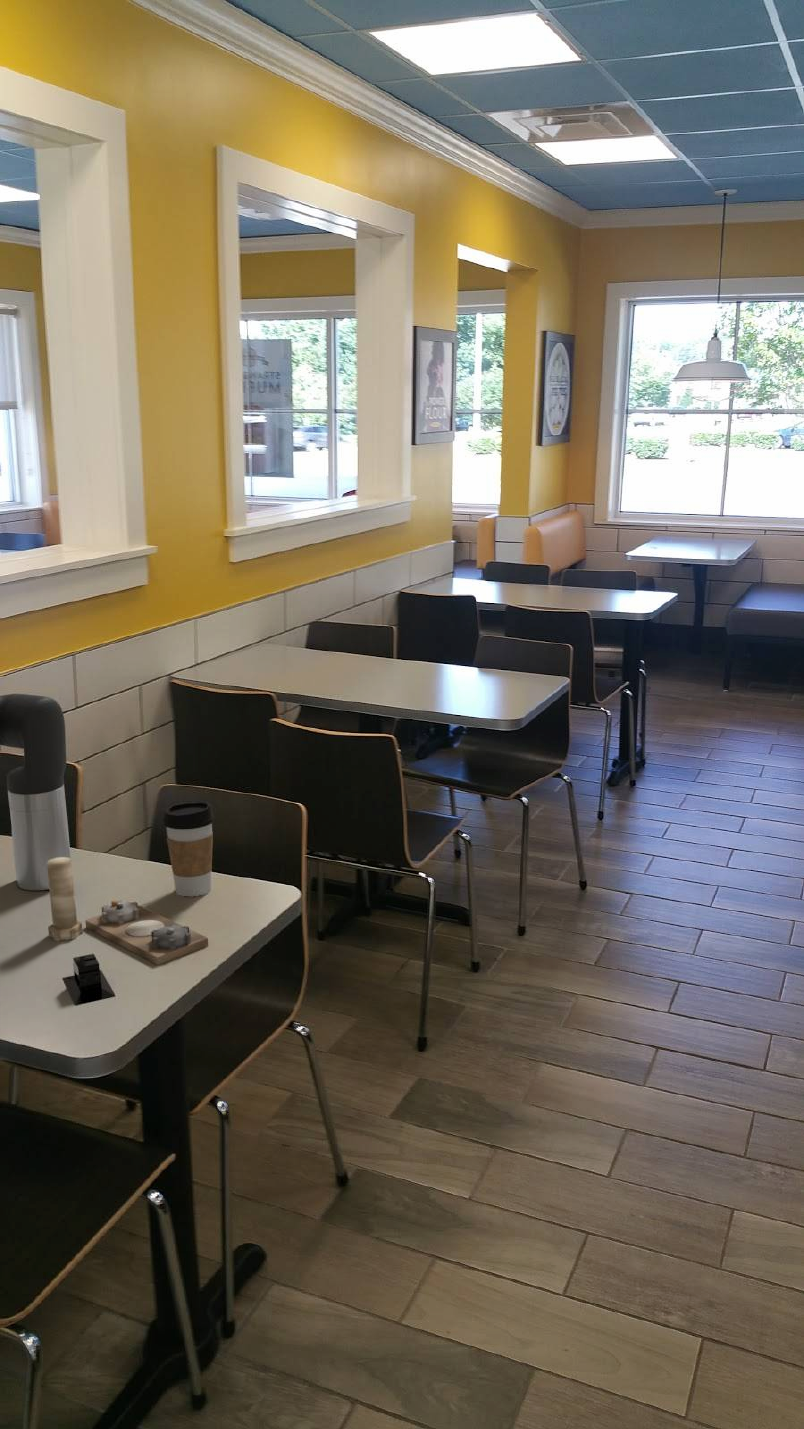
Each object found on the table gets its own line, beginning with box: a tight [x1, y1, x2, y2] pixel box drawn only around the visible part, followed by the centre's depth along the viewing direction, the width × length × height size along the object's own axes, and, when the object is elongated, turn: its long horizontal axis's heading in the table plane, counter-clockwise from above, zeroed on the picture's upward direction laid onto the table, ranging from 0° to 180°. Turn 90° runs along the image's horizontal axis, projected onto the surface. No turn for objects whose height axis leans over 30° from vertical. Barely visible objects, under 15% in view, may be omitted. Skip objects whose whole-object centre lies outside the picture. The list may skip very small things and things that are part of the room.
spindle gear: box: [47, 857, 83, 942], centre depth 177 cm, size 5×5×12 cm
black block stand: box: [62, 953, 116, 1007], centre depth 160 cm, size 12×7×5 cm, turn 26°
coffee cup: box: [162, 801, 215, 898], centre depth 193 cm, size 8×8×15 cm
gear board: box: [85, 900, 209, 966], centre depth 176 cm, size 20×9×3 cm, turn 45°
